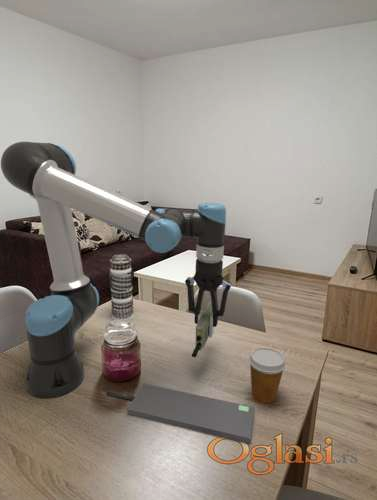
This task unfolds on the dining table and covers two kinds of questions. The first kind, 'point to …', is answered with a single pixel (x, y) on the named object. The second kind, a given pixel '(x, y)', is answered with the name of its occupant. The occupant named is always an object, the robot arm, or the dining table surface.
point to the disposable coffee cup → (266, 373)
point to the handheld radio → (203, 329)
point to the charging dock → (192, 412)
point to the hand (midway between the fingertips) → (205, 334)
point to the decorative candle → (121, 287)
